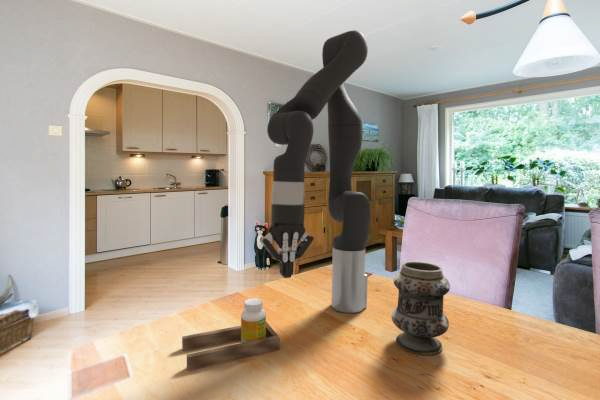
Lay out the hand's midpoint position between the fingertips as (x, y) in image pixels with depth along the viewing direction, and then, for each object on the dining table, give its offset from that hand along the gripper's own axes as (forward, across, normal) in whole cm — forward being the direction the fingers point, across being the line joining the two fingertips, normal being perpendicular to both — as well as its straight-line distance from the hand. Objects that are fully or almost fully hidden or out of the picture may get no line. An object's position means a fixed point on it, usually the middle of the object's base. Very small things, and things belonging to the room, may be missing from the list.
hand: (286, 276), depth 76 cm
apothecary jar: (+14, -26, +15) cm, 34 cm away
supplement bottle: (+15, +8, 0) cm, 16 cm away
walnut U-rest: (+14, +13, 0) cm, 19 cm away
